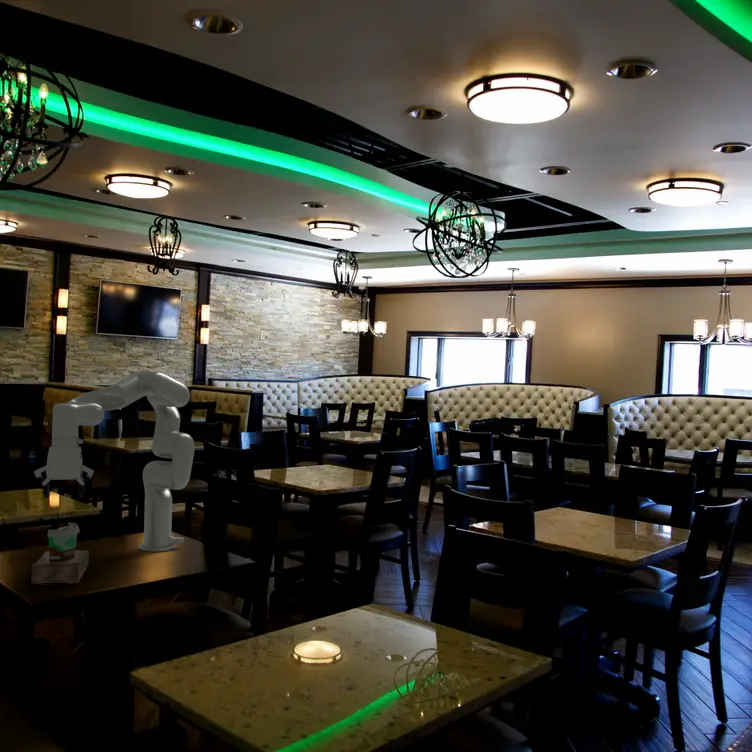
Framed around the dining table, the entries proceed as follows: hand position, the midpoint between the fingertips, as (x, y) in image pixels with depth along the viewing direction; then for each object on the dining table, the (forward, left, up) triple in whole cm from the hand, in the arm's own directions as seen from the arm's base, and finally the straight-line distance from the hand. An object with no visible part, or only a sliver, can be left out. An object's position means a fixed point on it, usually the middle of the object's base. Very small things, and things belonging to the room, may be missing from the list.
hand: (63, 497), depth 228 cm
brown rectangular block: (0, 0, -24) cm, 24 cm away
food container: (-1, 0, -19) cm, 19 cm away
